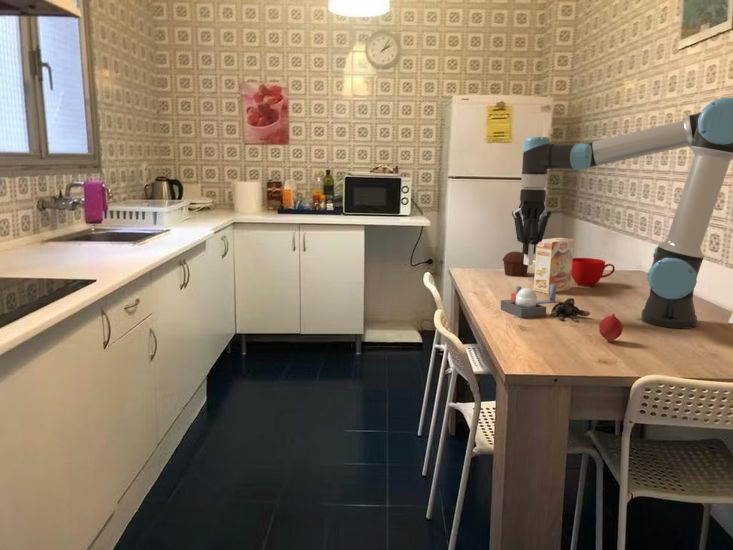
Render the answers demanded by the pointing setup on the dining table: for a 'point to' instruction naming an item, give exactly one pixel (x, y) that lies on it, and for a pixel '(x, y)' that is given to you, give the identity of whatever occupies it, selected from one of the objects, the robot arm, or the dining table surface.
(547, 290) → the coffeecake box
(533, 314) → the dome base
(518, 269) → the muffin
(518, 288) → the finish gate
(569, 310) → the stuffed animal
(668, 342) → the dining table surface
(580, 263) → the ceramic cup
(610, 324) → the onion
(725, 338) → the dining table surface
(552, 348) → the dining table surface
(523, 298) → the dome
